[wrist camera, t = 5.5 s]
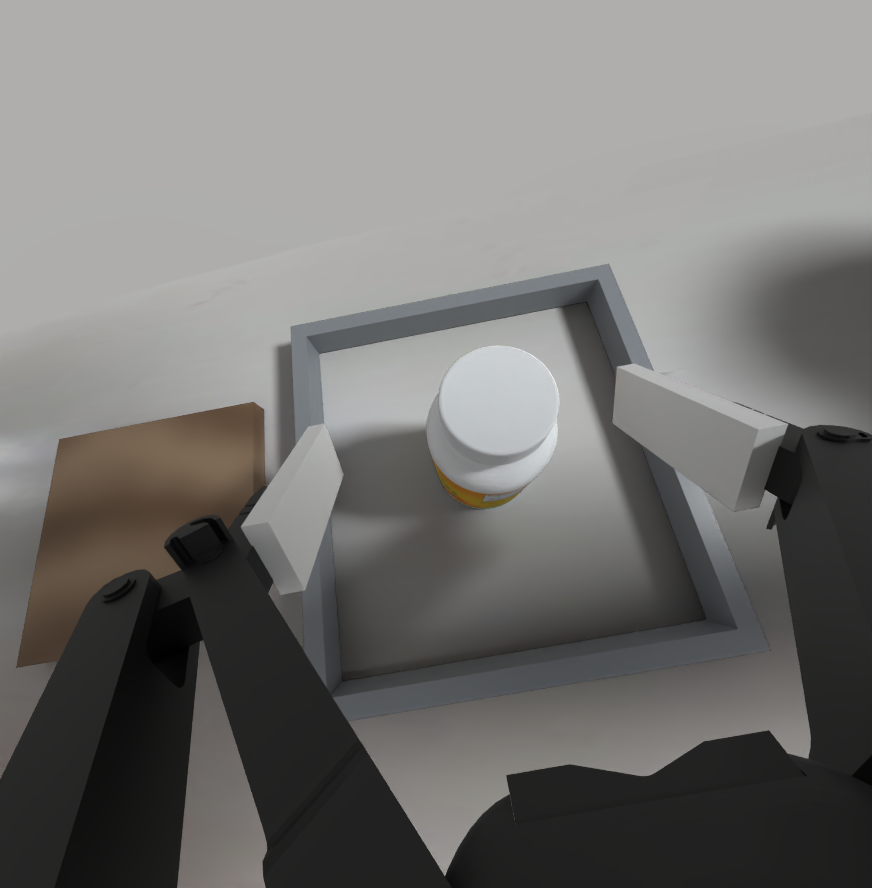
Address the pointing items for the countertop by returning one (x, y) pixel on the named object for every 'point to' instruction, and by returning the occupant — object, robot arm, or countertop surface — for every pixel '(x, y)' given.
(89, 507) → the walnut board
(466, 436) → the supplement bottle
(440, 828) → the countertop surface
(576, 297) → the tray frame
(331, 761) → the robot arm
